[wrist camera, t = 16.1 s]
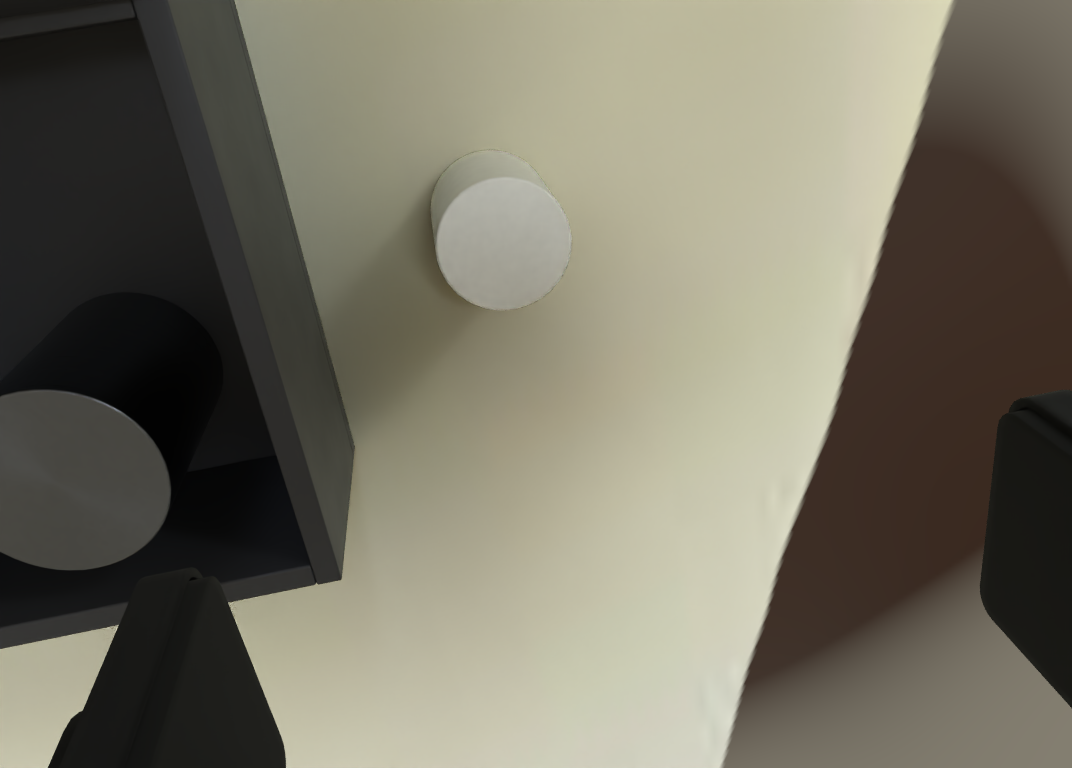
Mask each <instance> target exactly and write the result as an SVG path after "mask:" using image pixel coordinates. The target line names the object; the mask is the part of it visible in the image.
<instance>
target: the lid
mask: <svg viewBox="0 0 1072 768" xmlns="http://www.w3.org/2000/svg"><path fill="white" fill-rule="evenodd" d="M106 1H113V0H0V18H5V17H11V16H17V15H24V14H30V13H36V12H43V11H49V10H55V9H62V8H68V7H75V6H81V5H87V4H94V3H100V2H106Z"/></svg>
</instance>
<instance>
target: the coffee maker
mask: <svg viewBox="0 0 1072 768" xmlns="http://www.w3.org/2000/svg"><path fill="white" fill-rule="evenodd" d="M119 292H134V293H142V294H147V295H151V296H156V297H158V298H161V299H164V300H167V301H169V302H171V303H173V304H175V305H177V306H179V307H180V308H182V309H183V310H185V311H187V312H188V313H189V314H190V315H192V316H193V317H194V318H195V319H197V321H198V322H199V323H200V324H201V325H202V326H203V327H204V328H205V329H206V330H207V332H208V333H209V334H210V336H211V337H212V339H213V341H214V343H215V344H216V347H217V349H218V351H219V354H220V357H221V361H222V367H223V385H222V390H221V394H220V396H219V399H218V402H217V404H216V406H215V408H214V411H213V413H212V415H211V418H210V420H209V422H208V424H207V427H206V429H205V431H204V433H203V436H202V438H201V440H200V443H199V445H198V447H197V449H196V452H195V454H194V456H193V458H192V461H191V463H190V465H189V468H188V470H187V472H186V474H185V477H184V479H183V481H182V483H181V486H180V488H179V490H178V493H177V495H176V497H175V499H174V502H173V504H172V506H171V508H170V511H169V513H168V515H167V518H166V520H165V522H164V523H163V525H162V527H161V529H160V530H159V531H158V533H157V534H156V535H155V537H154V538H153V539H152V540H151V541H150V542H149V543H148V544H147V545H146V546H144V547H143V548H142V549H140V550H139V551H138V552H136V553H135V554H133V555H131V556H129V557H127V558H125V559H123V560H121V561H119V562H116V563H113V564H111V565H107V566H103V567H99V568H94V569H87V570H55V569H49V568H43V567H39V566H35V565H31V564H27V563H25V562H22V561H19V560H16V559H14V558H12V557H10V556H8V555H5V554H3V553H1V552H0V649H3V648H8V647H12V646H17V645H22V644H27V643H32V642H37V641H42V640H47V639H52V638H57V637H61V636H66V635H71V634H76V633H81V632H86V631H91V630H96V629H101V628H106V627H110V626H115V625H119V624H120V622H121V619H122V617H123V614H124V612H125V610H126V607H127V605H128V603H129V600H130V598H131V596H132V593H133V591H134V588H135V586H136V584H137V583H138V581H139V580H140V579H141V578H143V577H147V576H151V575H156V574H161V573H166V572H171V571H176V570H181V569H186V568H191V567H192V568H196V569H197V570H198V571H199V572H200V573H201V575H202V577H203V578H206V577H211V576H213V577H216V578H217V580H218V581H219V583H220V585H221V587H222V589H223V592H224V594H225V597H226V599H227V602H233V601H238V600H243V599H248V598H253V597H258V596H262V595H267V594H272V593H277V592H282V591H287V590H292V589H297V588H302V587H307V586H311V585H315V584H316V582H317V584H323V583H328V582H333V581H338V580H341V579H342V570H343V560H344V550H345V540H346V530H347V520H348V510H349V500H350V490H351V480H352V470H353V460H354V450H355V446H354V442H353V439H352V435H351V431H350V428H349V424H348V420H347V416H346V413H345V409H344V405H343V402H342V398H341V394H340V391H339V387H338V383H337V379H336V376H335V372H334V368H333V365H332V361H331V357H330V354H329V350H328V346H327V342H326V339H325V335H324V331H323V328H322V324H321V320H320V317H319V313H318V309H317V305H316V302H315V298H314V294H313V291H312V287H311V283H310V280H309V276H308V272H307V269H306V265H305V261H304V257H303V254H302V250H301V246H300V243H299V239H298V235H297V232H296V228H295V224H294V220H293V217H292V213H291V209H290V206H289V202H288V198H287V195H286V191H285V187H284V183H283V180H282V176H281V172H280V169H279V165H278V161H277V158H276V154H275V150H274V146H273V143H272V139H271V135H270V132H269V128H268V124H267V121H266V117H265V113H264V109H263V106H262V102H261V98H260V95H259V91H258V87H257V84H256V80H255V76H254V72H253V69H252V65H251V61H250V58H249V54H248V50H247V47H246V43H245V39H244V36H243V32H242V28H241V24H240V21H239V17H238V13H237V10H236V6H235V2H234V0H113V1H106V2H100V3H94V4H87V5H81V6H75V7H68V8H62V9H55V10H49V11H43V12H36V13H30V14H24V15H17V16H11V17H5V18H0V381H1V380H2V379H3V378H4V377H5V376H6V375H8V374H9V373H10V372H11V371H12V370H13V369H14V368H15V367H16V366H17V365H18V364H19V363H20V362H21V361H22V360H23V359H24V358H25V357H26V356H27V355H28V354H29V353H30V352H31V351H32V350H33V349H34V348H35V347H36V346H37V345H38V344H39V343H40V342H41V341H42V340H43V339H44V338H45V337H46V336H47V335H48V334H49V333H50V332H51V331H52V330H53V329H54V328H55V327H56V326H57V325H58V324H59V323H60V322H61V321H62V320H63V319H64V318H65V317H66V316H67V315H68V314H69V313H70V312H71V311H72V310H74V309H75V308H76V307H78V306H79V305H81V304H83V303H84V302H86V301H88V300H90V299H93V298H95V297H98V296H102V295H106V294H111V293H119Z"/></svg>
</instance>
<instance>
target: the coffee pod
mask: <svg viewBox="0 0 1072 768" xmlns="http://www.w3.org/2000/svg"><path fill="white" fill-rule="evenodd" d="M431 220H432V228H433V235H434V243H435V251H436V258H437V262H438V266H439V268H440V271H441V273H442V275H443V277H444V278H445V280H446V282H447V283H448V284H449V286H450V287H451V288H452V289H453V290H454V291H455V292H456V293H457V294H458V295H459V296H461V297H462V298H463V299H465V300H466V301H468V302H470V303H472V304H474V305H477V306H479V307H482V308H486V309H491V310H513V309H518V308H522V307H525V306H527V305H530V304H532V303H534V302H536V301H538V300H539V299H541V298H542V297H544V296H545V295H546V294H548V293H549V292H550V291H551V290H552V289H553V288H554V287H555V285H556V284H557V283H558V282H559V280H560V279H561V277H562V276H563V274H564V272H565V270H566V268H567V265H568V262H569V259H570V254H571V247H572V237H571V230H570V225H569V222H568V219H567V216H566V214H565V212H564V210H563V208H562V207H561V205H560V204H559V203H558V201H557V200H556V198H555V197H554V196H553V194H552V193H551V191H550V190H549V189H548V187H547V186H546V184H545V183H544V182H543V180H542V179H541V177H540V176H539V175H538V173H537V172H536V171H535V170H534V169H533V168H532V166H530V165H529V164H528V163H527V162H526V161H524V160H523V159H521V158H520V157H518V156H515V155H513V154H511V153H508V152H504V151H499V150H482V151H477V152H473V153H470V154H468V155H465V156H463V157H461V158H460V159H458V160H456V161H455V162H454V163H452V164H451V165H450V166H449V167H448V168H447V169H446V170H445V171H444V173H443V174H442V175H441V177H440V178H439V180H438V182H437V184H436V186H435V188H434V191H433V195H432V199H431Z"/></svg>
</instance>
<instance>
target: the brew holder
mask: <svg viewBox="0 0 1072 768" xmlns="http://www.w3.org/2000/svg"><path fill="white" fill-rule="evenodd" d="M222 385H223V367H222V361H221V357H220V354H219V351H218V349H217V347H216V344H215V343H214V341H213V339H212V337H211V336H210V334H209V333H208V332H207V330H206V329H205V328H204V327H203V326H202V325H201V324H200V323H199V322H198V321H197V319H195V318H194V317H193V316H192V315H190V314H189V313H188V312H187V311H185V310H183V309H182V308H180V307H179V306H177V305H175V304H173V303H171V302H169V301H167V300H164V299H161V298H158V297H156V296H151V295H147V294H142V293H134V292H119V293H111V294H106V295H102V296H98V297H95V298H93V299H90V300H88V301H86V302H84V303H83V304H81V305H79V306H78V307H76V308H75V309H74V310H72V311H71V312H70V313H69V314H68V315H67V316H66V317H65V318H64V319H63V320H62V321H61V322H60V323H59V324H58V325H57V326H56V327H55V328H54V329H53V330H52V331H51V332H50V333H49V334H48V335H47V336H46V337H45V338H44V339H43V340H42V341H41V342H40V343H39V344H38V345H37V346H36V347H35V348H34V349H33V350H32V351H31V352H30V353H29V354H28V355H27V356H26V357H25V358H24V359H23V360H22V361H21V362H20V363H19V364H18V365H17V366H16V367H15V368H14V369H13V370H12V371H11V372H10V373H9V374H8V375H6V376H5V377H4V378H3V379H2V380H1V381H0V552H1V553H3V554H5V555H8V556H10V557H12V558H14V559H16V560H19V561H22V562H25V563H27V564H31V565H35V566H39V567H43V568H49V569H55V570H87V569H94V568H99V567H103V566H107V565H111V564H113V563H116V562H119V561H121V560H123V559H125V558H127V557H129V556H131V555H133V554H135V553H136V552H138V551H139V550H140V549H142V548H143V547H144V546H146V545H147V544H148V543H149V542H150V541H151V540H152V539H153V538H154V537H155V535H156V534H157V533H158V531H159V530H160V529H161V527H162V525H163V523H164V522H165V520H166V518H167V515H168V513H169V511H170V508H171V506H172V504H173V502H174V499H175V497H176V495H177V493H178V490H179V488H180V486H181V483H182V481H183V479H184V477H185V474H186V472H187V470H188V468H189V465H190V463H191V461H192V458H193V456H194V454H195V452H196V449H197V447H198V445H199V443H200V440H201V438H202V436H203V433H204V431H205V429H206V427H207V424H208V422H209V420H210V418H211V415H212V413H213V411H214V408H215V406H216V404H217V402H218V399H219V396H220V394H221V390H222Z"/></svg>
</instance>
